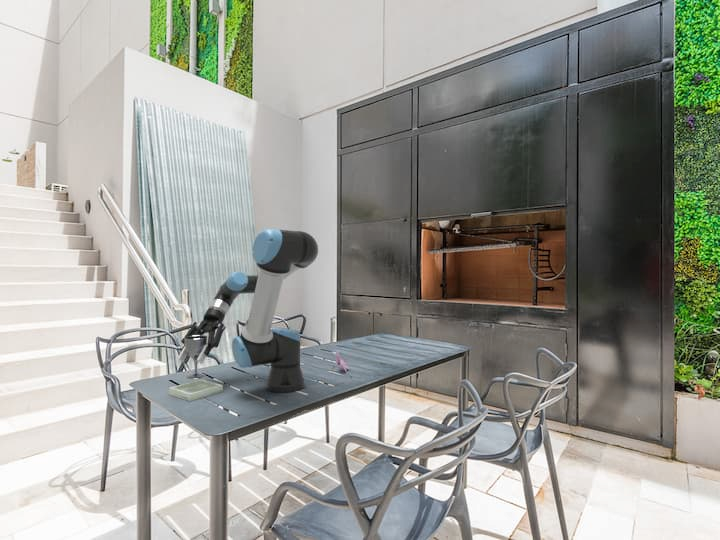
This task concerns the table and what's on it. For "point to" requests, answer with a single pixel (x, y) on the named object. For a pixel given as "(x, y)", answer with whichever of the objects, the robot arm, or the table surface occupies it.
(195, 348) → the wine glass
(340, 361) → the lily
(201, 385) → the white tray
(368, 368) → the table surface
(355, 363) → the table surface
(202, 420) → the table surface
